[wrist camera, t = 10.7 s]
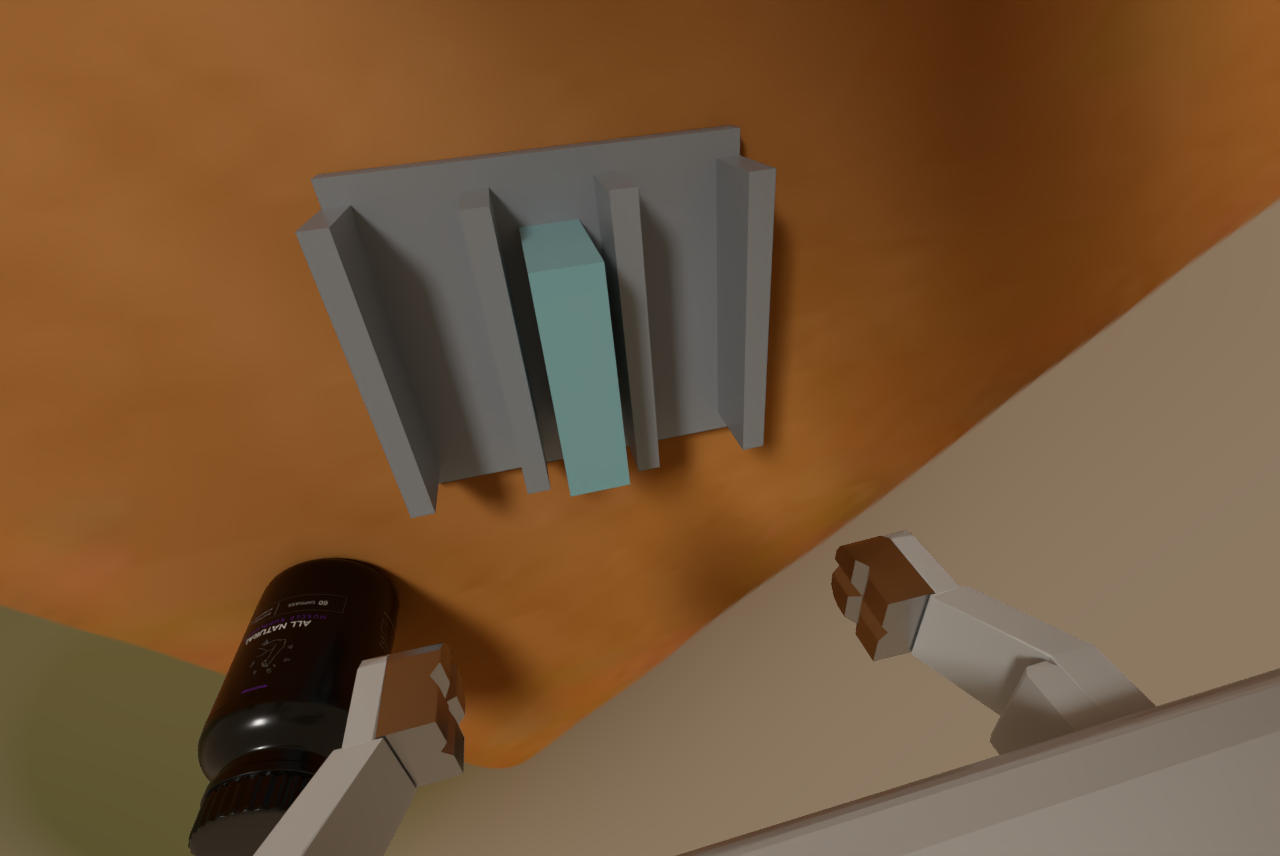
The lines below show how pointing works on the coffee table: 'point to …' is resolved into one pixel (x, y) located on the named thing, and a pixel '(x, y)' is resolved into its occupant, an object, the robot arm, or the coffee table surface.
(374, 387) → the rack
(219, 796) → the supplement bottle
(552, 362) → the teal upright panel
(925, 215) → the coffee table surface
